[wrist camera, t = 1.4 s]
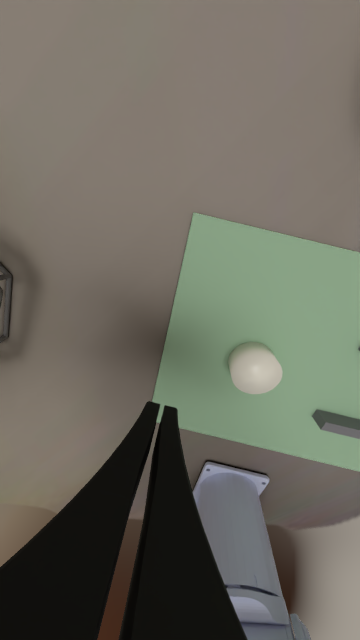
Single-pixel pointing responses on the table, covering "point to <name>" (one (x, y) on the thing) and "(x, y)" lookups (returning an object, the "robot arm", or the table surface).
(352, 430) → the grey frame
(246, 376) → the stone
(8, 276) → the geometric lantern
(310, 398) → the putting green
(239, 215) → the table surface
